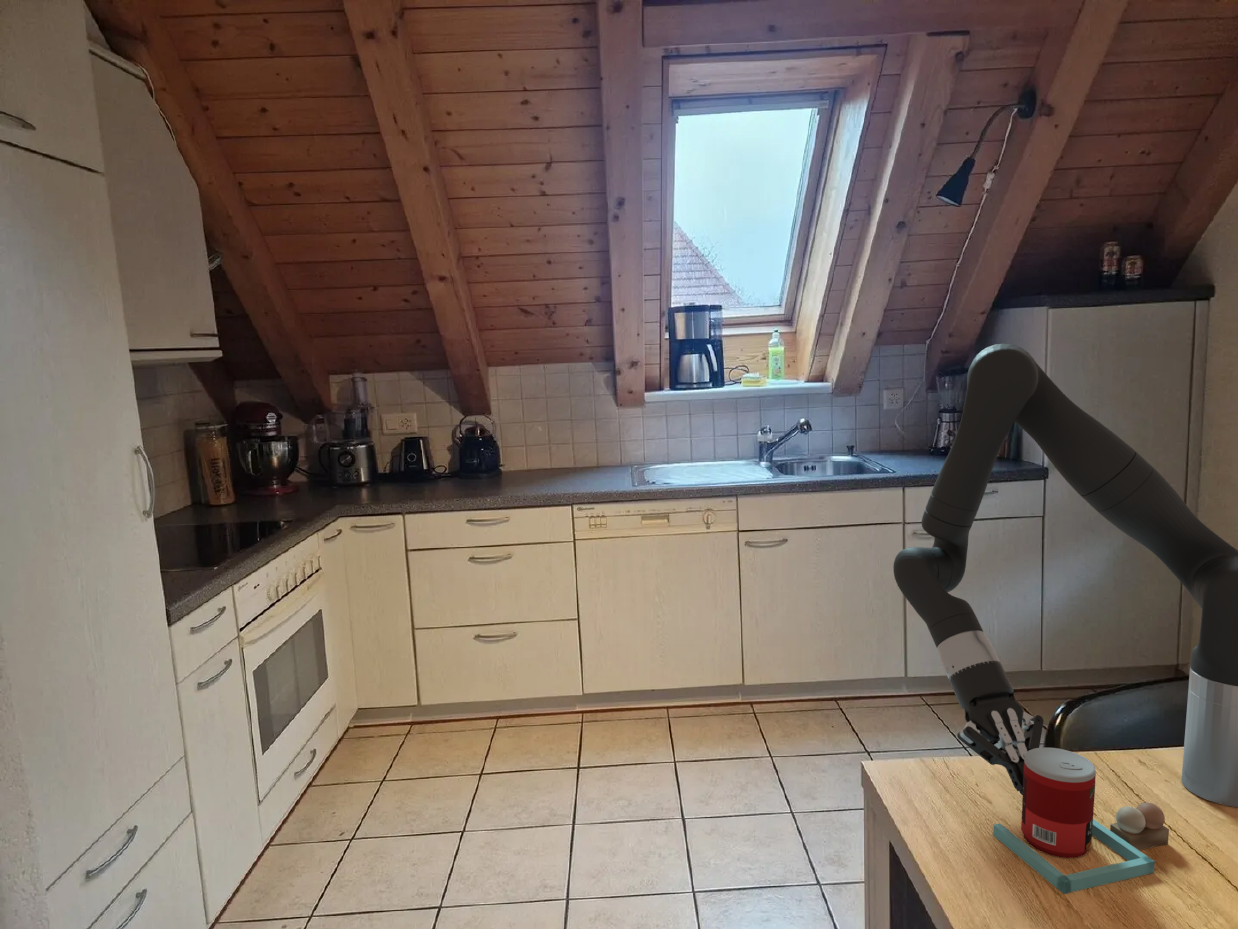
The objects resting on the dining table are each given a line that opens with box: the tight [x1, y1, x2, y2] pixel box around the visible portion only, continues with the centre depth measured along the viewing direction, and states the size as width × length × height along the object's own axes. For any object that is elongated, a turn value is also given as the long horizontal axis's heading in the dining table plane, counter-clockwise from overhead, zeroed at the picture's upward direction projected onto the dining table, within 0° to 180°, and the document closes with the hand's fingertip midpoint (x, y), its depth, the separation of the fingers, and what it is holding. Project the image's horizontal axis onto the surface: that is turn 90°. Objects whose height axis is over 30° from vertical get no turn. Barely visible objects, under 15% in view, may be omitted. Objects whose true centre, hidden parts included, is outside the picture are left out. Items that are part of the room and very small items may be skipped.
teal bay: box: [992, 818, 1156, 895], centre depth 103 cm, size 13×12×2 cm
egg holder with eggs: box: [1109, 801, 1170, 851], centre depth 105 cm, size 6×3×5 cm, turn 104°
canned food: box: [1021, 747, 1097, 859], centre depth 105 cm, size 8×8×11 cm
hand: (1030, 792), depth 109 cm, fingers closed
